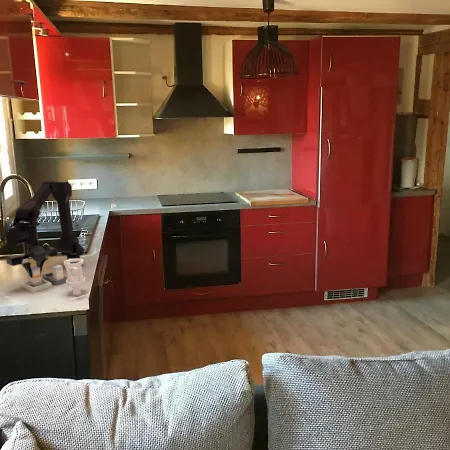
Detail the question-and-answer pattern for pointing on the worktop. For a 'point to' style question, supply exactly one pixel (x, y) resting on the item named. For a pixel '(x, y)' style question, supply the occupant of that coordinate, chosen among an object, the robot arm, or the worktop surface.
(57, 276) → the block
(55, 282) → the fuse board
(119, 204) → the worktop surface
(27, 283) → the tray
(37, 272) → the marked fuse
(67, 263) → the white tall plastic piece
